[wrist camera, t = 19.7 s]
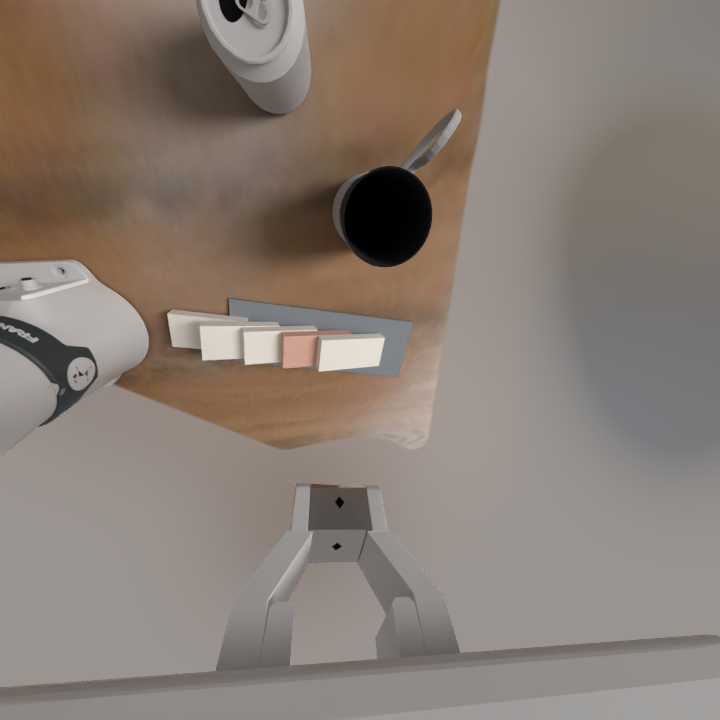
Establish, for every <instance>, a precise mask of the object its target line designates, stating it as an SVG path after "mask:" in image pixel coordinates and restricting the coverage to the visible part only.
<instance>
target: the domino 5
mask: <svg viewBox="0 0 720 720" xmlns="http://www.w3.org/2000/svg"><path fill="white" fill-rule="evenodd" d="M384 340H385V337H384V336H383V335H381V334H380V333H376V334H348V335H320V336H318V346H317V357H316V368H317V369H318V371H330V370H341V369H352V368H363V367H374V366H379V363H380V359H381V354H382V349H383V345H384Z"/></svg>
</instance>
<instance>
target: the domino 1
mask: <svg viewBox="0 0 720 720" xmlns="http://www.w3.org/2000/svg"><path fill="white" fill-rule="evenodd" d="M167 316H168V322H169V328H170V334H171V340H172V346H173V347H182V348H193V349H202V348H201V337H200V321H227V322H248V318H244V317H235V316H226V315H217V314H208V313H200V312H191V311H182V310H171V311H170V312H168V313H167Z"/></svg>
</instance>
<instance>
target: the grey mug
mask: <svg viewBox="0 0 720 720" xmlns="http://www.w3.org/2000/svg"><path fill="white" fill-rule="evenodd" d="M461 118H462V114H461V112H460V111H459V110H458V109H457V108H456V109H454V110H452V111H451V112H450V113H448V114H447V115H446V116H445V117H444V118H443V119H442V120H440V121H439V122H438V123H437V124H436V125H435V126H434V128H433V129H432V130H431V131H430V132H429V133H428V134H427V135H426V136H425V137H424V138H423V140H422V141H421V142H420V143H419V144H418V146H417V147H416V148H415V149H414V150H413V152H412V153H411V154H410V155H409V157H408V158H407V159H406V160H405V161H404V163H403V164H402V165H401V166H400V168H399V167H394V166H386V167H379V168H377V169H374V170H371V171H369V172H366V173H362V174H358V175H355V176H353V177H351V178H349V179H348V180H347V181H346V182H345V183H343V184H342V186H341V187H340V188H339V190H338V192H337V194H336V196H335V199H334V202H333V221H334V225H335V228H336V230H337V232H338V234H339V235H340V237H341V238H342V239H343V240H344V241H345V242H346V244H347V245H348V246H349V248H350V249H351V251H352V252H353V253H354V254H355V255H356V256H358V257H359V258H360V259H362V260H363V261H365V262H366V263H369V264H371V265H374V266H378V267H392V266H396V265H399V264H402V263H404V262H406V261H408V260H409V259H410V258H412V257H413V256H414V255H415V254H416V253H417V252H418V251H419V250H420V249H421V247H422V246H423V244H424V243H425V241H426V239H427V237H428V234H429V231H430V228H431V222H432V206H431V200H430V197H429V194H428V192H427V190H426V188H425V186H424V185H423V183H422V182H421V181H420V180H419V178H417V177H416V176H415V175H414V173H415V172H416V170H417V169H418V168H420V167H422V166H423V165H425V164H426V163H428V162H429V161H430V160H431V159H432V158H433V157H434V156H435V155H436V154H437V153H438V152H439V150H440V149H441V148H442V147H443V146H444V144H445V143H446V142H447V141H448V139H449V138H450V137H451V135H452V134H453V132H454V131H455V129H456V128H457V126H458V124H459V122H460V120H461ZM444 128H445V129H444ZM443 129H444V130H443ZM442 130H443V131H442ZM441 131H442V133H441V134H440V135H439V137H438V138H437V139H436V141H435V142H434V143H433V144H432V145H431V147H430V148H429V149H428V150H427V151H426V152H425V153H424V154H423V155H422V156H421V157H420V158H418V159H416V158H417V157H418V156H419V155H420V154H421V152H422V151H423V150H424V149H425V148H426V147H427V146H428V145H429V143H430V142H431V141H432V140H433V139H434V138H435V137H436V136H437V135H438V134H439V133H440V132H441ZM415 159H416V160H415Z"/></svg>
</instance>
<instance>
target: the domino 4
mask: <svg viewBox="0 0 720 720" xmlns="http://www.w3.org/2000/svg"><path fill="white" fill-rule="evenodd" d="M348 334H352V333H351V332H350V331H349V330H325V331H289V332H282V345H281V364H282V367H283V368H295V367H308V366H316V357H317V346H318V336H320V335H348Z"/></svg>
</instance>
